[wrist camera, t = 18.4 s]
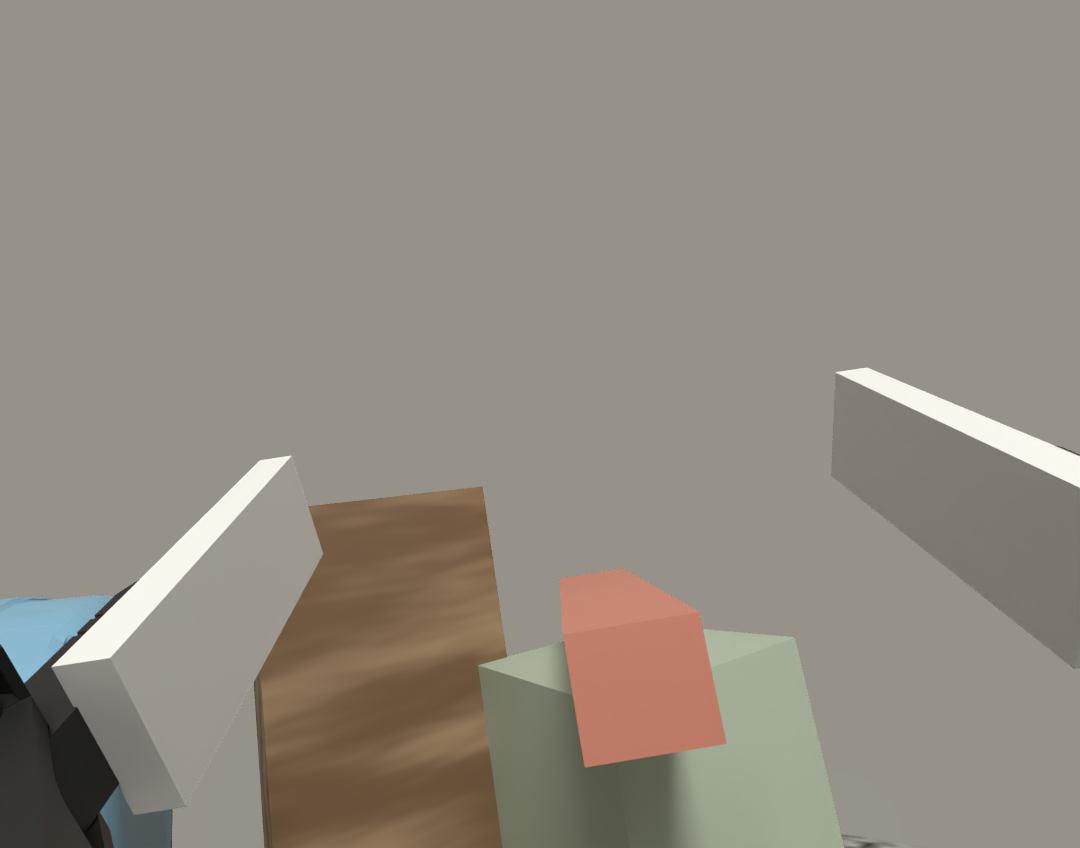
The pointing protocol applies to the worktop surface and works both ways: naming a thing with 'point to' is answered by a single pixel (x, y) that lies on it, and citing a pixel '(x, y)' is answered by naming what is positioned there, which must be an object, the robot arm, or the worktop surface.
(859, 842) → the worktop surface
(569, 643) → the salmon pink bar
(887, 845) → the worktop surface
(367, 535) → the walnut block
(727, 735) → the sage step
